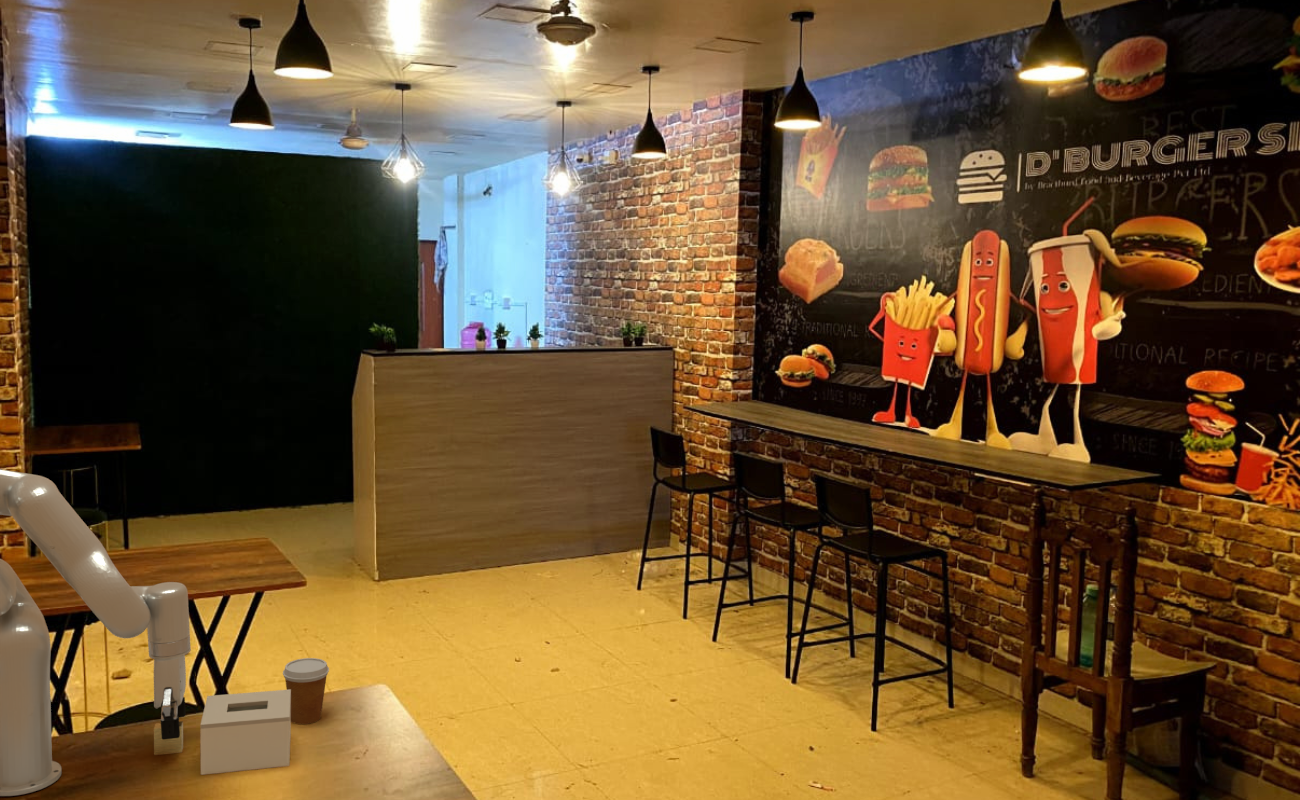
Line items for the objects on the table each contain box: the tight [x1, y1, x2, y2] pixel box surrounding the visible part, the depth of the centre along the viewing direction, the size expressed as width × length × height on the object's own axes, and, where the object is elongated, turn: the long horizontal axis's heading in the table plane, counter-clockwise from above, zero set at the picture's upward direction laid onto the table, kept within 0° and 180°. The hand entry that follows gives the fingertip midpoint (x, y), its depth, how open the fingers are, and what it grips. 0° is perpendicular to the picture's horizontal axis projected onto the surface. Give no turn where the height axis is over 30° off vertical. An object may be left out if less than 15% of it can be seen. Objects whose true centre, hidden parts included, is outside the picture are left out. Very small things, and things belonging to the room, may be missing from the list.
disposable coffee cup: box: [282, 657, 330, 725], centre depth 222 cm, size 10×10×12 cm
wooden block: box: [153, 720, 184, 756], centre depth 204 cm, size 5×2×6 cm, turn 108°
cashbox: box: [200, 689, 292, 775], centre depth 204 cm, size 16×14×10 cm
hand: (173, 727), depth 205 cm, fingers open, 9 cm apart
